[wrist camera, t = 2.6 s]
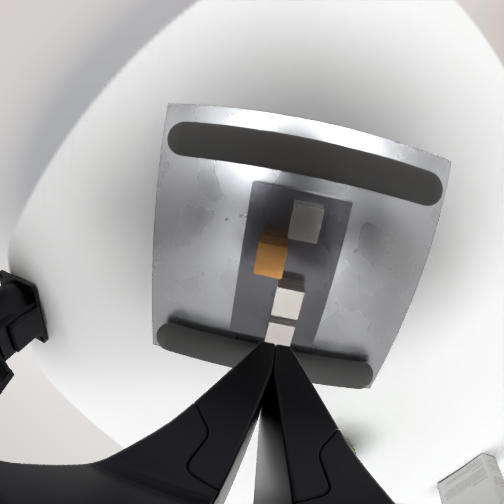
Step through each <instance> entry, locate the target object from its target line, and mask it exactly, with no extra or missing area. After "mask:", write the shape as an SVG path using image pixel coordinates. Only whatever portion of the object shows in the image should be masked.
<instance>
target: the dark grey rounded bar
mask: <svg viewBox="0 0 504 504" xmlns="http://www.w3.org/2000/svg"><path fill="white" fill-rule="evenodd" d="M167 142H168V146H169V148H170V149H171V151H172V152H174V153H175V154H177V155H180V156H187V157H195V158H203V159H211V160H218V161H225V162H232V163H238V164H245V165H251V166H257V167H263V168H268V169H274V170H279V171H285V172H290V173H295V174H300V175H305V176H310V177H315V178H319V179H324V180H328V181H333V182H337V183H342V184H346V185H350V186H354V187H358V188H362V189H366V190H370V191H374V192H378V193H381V194H385V195H389V196H392V197H396V198H400V199H403V200H407V201H410V202H413V203H417V204H420V205H423V206H431V205H434V204H436V203H437V202H438V201H439V200H440V199H441V197H442V193H443V186H442V182H441V180H440V178H439V177H438V176H437V175H436V174H435V173H433V172H431V171H428V170H425V169H422V168H419V167H416V166H413V165H410V164H407V163H404V162H400V161H397V160H394V159H390V158H387V157H384V156H380V155H377V154H373V153H369V152H366V151H362V150H358V149H354V148H350V147H346V146H342V145H338V144H333V143H329V142H324V141H320V140H315V139H310V138H305V137H300V136H295V135H290V134H284V133H278V132H272V131H266V130H259V129H253V128H245V127H238V126H230V125H221V124H211V123H201V122H188V121H185V122H180V123H177V124H175V125H174V126H173V127H172V128H171V129H170V131H169V133H168V137H167Z"/></svg>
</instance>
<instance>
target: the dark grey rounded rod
mask: <svg viewBox="0 0 504 504" xmlns="http://www.w3.org/2000/svg"><path fill="white" fill-rule="evenodd" d="M156 338H157V342H158V344H159V345H160V346H161V347H162V348H164V349H166V350H169V351H172V352H175V353H179V354H182V355H186V356H189V357H193V358H196V359H200V360H204V361H208V362H211V363H215V364H219V365H223V366H227V367H232V368H233V367H234V366H235V365H236V364H237V363H239V362H240V361H241V360H242V359H243V358H244V357H245V356H246V355H247V354H248V353H249V352H250V351H251V350H252V349H253V348H254V347H255V346H256V345H257V344H255V343H250V342H246V341H241V340H237V339H232V338H228V337H224V336H220V335H216V334H212V333H208V332H204V331H200V330H196V329H192V328H188V327H185V326H181V325H177V324H174V323H166V324H163V325H162V326H160V327H159V329H158V331H157V334H156ZM293 352H294V354H295V355H296V357H297V359H298V360H299V362H300V364H301V366H302V367H303V369H304V371H305V372H306V374H307V376H308V378H309V379H310V381H311V383H315V384H322V385H330V386H337V387H346V388H355V389H361V388H365V387H366V386H368V385H369V384H370V383H371V381H372V379H373V370H372V368H371V366H370V365H369V364H367V363H365V362H360V361H352V360H345V359H338V358H331V357H325V356H318V355H312V354H307V353H301V352H295V351H293Z"/></svg>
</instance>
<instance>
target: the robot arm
mask: <svg viewBox="0 0 504 504" xmlns="http://www.w3.org/2000/svg"><path fill="white" fill-rule="evenodd" d="M0 283H1V286H0V394H1V393H2V391H3V390H4V388H5V387H6V385H7V384H8V383H9V381H10V380H11V378H12V377H13V376H14V373H13V372H12V370H11V369H10V368H9V367H8V365H7V363H6V362H5V361H6V360H7V359H8V358H10V357H11V356H12V355H13V354H14V353H15V352H16V351H17V352H19V351H20V350H22V349H23V348H24V347H25V346H26V345H27V344H29V343H30V342H31V341H32V340H33V339H34V338H36V339H38V340H40V341H42V342H44V343H45V342H46V341H47V340H48V338H47V334H46V330H45V327H44V322H43V318H42V314H41V309H40V305H39V300H38V295H37V290H36V287H35V286H34V285H33V284H31V283H29V282H26V281H24V280H22V279H20V278H18V277H16V276H14V275H12V274H10V273H7V272H5V271H3V270H2V271H0ZM260 411H261V412H260ZM259 414H260V420H259V434H258V449H257V463H256V477H255V490H254V503H253V504H395V503H394V502H393V501H392V499H391V498H390V497H389V496H388V495H387V494H386V492H385V491H384V490H383V489H382V488H381V486H380V485H379V484H378V483H377V482H376V480H375V479H374V478H373V477H372V475H371V474H370V473H369V472H368V471H367V469H366V468H365V467H364V465H363V464H362V463H361V461H360V460H359V459H358V458H357V456H356V455H355V453H354V452H353V450H352V449H351V447H350V446H349V444H348V443H347V441H346V440H345V438H344V436H343V435H342V433H341V431H340V430H338V426H337V425H336V423H335V421H334V420H333V418H332V416H331V415H330V413H329V411H328V410H327V408H326V406H325V405H324V403H323V401H322V400H321V398H320V396H319V395H318V393H317V391H316V389H315V388H314V386H313V384H312V383H311V381H310V379H309V378H308V376H307V374H306V372H305V371H304V369H303V367H302V366H301V364H300V362H299V360H298V359H297V357H296V355H295V354H294V352H293V350H292V348H291V347H290V346H285V345H280V344H277V345H276V346H275V344H274V343H270V342H265V341H261V342H260V343H258V344H257V345H256V346H255V347H254V348H253V349H252V350H251V351H250V352H249V353H248V354H247V355H246V356H245V357H244V358H243V359H242V360H241V361H240V362H239V363H237V364H236V365H235V366H234V367H233V368H232V369H231V370H230V371H229V372H228V373H227V374H226V375H224V376H223V377H222V378H221V379H220V380H219V381H218V382H217V383H216V384H215V385H213V386H212V387H211V388H210V389H209V390H208V391H207V392H206V393H204V394H203V395H202V396H201V397H200V398H199V399H198V400H196V401H195V403H193V404H192V405H190V406H189V407H188V408H187V409H186V410H185V411H183V412H182V413H181V414H180V415H178V416H177V417H176V418H174V419H173V420H172V421H170V422H169V423H168V424H166V425H165V426H163V427H161V428H160V429H158V430H157V431H155V432H154V433H152V434H150V435H148V436H147V437H145V438H143V439H142V440H140V441H138V442H136V443H134V444H133V445H131V446H129V447H127V448H125V449H123V450H122V451H120V452H118V453H116V454H114V455H112V456H110V457H109V458H106V459H103V460H101V461H97V462H94V463H89V464H82V465H81V464H79V465H38V464H20V463H10V462H4V461H0V504H224V502H225V500H226V498H227V495H228V493H229V491H230V488H231V486H232V484H233V481H234V479H235V477H236V474H237V472H238V469H239V467H240V464H241V462H242V459H243V457H244V454H245V452H246V449H247V447H248V444H249V442H250V439H251V437H252V434H253V431H254V429H255V426H256V423H257V421H258V417H259Z"/></svg>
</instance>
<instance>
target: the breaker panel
mask: <svg viewBox="0 0 504 504" xmlns="http://www.w3.org/2000/svg"><path fill="white" fill-rule="evenodd" d="M185 121H188V122H201V123H211V124H221V125H230V126H238V127H245V128H253V129H259V130H266V131H272V132H278V133H284V134H290V135H295V136H300V137H305V138H310V139H315V140H320V141H324V142H329V143H333V144H338V145H342V146H346V147H350V148H354V149H358V150H362V151H366V152H369V153H373V154H377V155H380V156H384V157H387V158H390V159H394V160H397V161H400V162H404V163H407V164H410V165H413V166H416V167H419V168H422V169H425V170H428V171H431V172H433V173H435V174H436V175H437V176H438V177H439V178H440V180H441V182H442V186H443V193H442V197H441V199H440V200H439V201H438V202H437V203H436V204H434V205H431V206H423V205H420V204H417V203H413V202H410V201H407V200H403V199H400V198H396V197H392V196H389V195H385V194H381V193H378V192H374V191H370V190H366V189H362V188H358V187H354V186H350V185H346V184H342V183H337V182H333V181H328V180H324V179H319V178H315V177H310V176H305V175H300V174H295V173H290V172H285V171H279V170H274V169H268V168H263V167H257V166H251V165H245V164H238V163H232V162H225V161H218V160H211V159H203V158H195V157H187V156H180V155H177V154H175V153H174V152H172V151H171V149H170V148H169V146H168V142H167V137H168V133H169V131H170V129H171V128H172V127H173V126H174V125H175V124H177V123H180V122H185ZM450 166H451V161H449V160H446V159H444V158H441V157H439V156H436V155H433V154H430V153H428V152H425V151H422V150H419V149H416V148H413V147H411V146H407V145H404V144H401V143H398V142H395V141H392V140H389V139H385V138H382V137H378V136H375V135H371V134H368V133H364V132H360V131H356V130H353V129H349V128H345V127H340V126H336V125H332V124H327V123H323V122H318V121H313V120H308V119H303V118H298V117H292V116H287V115H281V114H274V113H268V112H261V111H254V110H246V109H237V108H228V107H217V106H205V105H190V104H168V107H167V113H166V119H165V126H164V133H163V140H162V148H161V156H160V165H159V174H158V184H157V196H156V208H155V223H154V242H153V271H152V323H153V344H155V345H158V346H160V345H159V344H158V342H157V338H156V334H157V331H158V329H159V327H160V326H162V325H163V324H166V323H174V324H177V325H181V326H185V327H188V328H192V329H196V330H200V331H204V332H208V333H212V334H216V335H220V336H224V337H228V338H232V339H237V340H241V341H246V342H250V343H255V344H258V343H260V342H261V341H265V342H270V343H274V344H275V346H276V345H277V344H280V345H285V346H290V347H291V348H292V350H293V351H295V352H301V353H307V354H312V355H318V356H325V357H331V358H338V359H345V360H352V361H360V362H365V363H367V364H369V365H370V366H371V368H372V370H373V379H372V381H371V383H370V384H369V385H368V386H366V387H365V388H370V387H371V385H372V383H373V381H374V380H375V378H376V376H377V374H378V372H379V370H380V368H381V366H382V364H383V363H384V361H385V359H386V357H387V355H388V352H389V350H390V348H391V346H392V344H393V342H394V340H395V338H396V336H397V333H398V331H399V329H400V327H401V324H402V322H403V320H404V318H405V315H406V313H407V310H408V308H409V306H410V303H411V301H412V298H413V296H414V293H415V290H416V288H417V285H418V282H419V280H420V277H421V274H422V271H423V268H424V265H425V262H426V259H427V256H428V253H429V250H430V247H431V244H432V240H433V237H434V234H435V230H436V227H437V223H438V219H439V216H440V212H441V208H442V204H443V200H444V195H445V191H446V186H447V182H448V177H449V172H450Z"/></svg>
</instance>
